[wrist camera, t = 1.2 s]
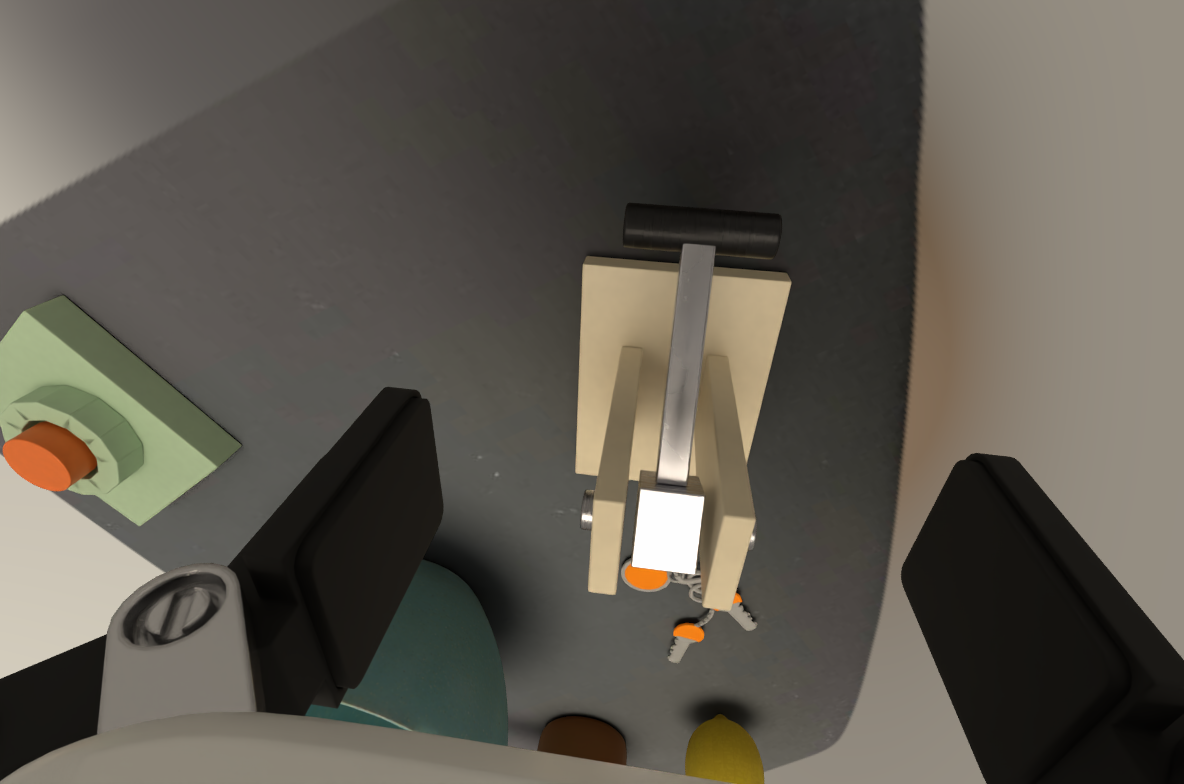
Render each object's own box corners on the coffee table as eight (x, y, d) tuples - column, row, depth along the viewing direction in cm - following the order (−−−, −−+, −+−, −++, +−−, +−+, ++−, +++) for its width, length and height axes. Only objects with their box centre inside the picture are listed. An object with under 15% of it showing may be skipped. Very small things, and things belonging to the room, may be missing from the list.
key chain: (604, 537, 34) (603, 547, 34) (721, 517, 32) (722, 527, 31) (664, 659, 40) (664, 670, 39) (766, 649, 38) (768, 660, 37)
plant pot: (460, 696, 47) (399, 879, 36) (264, 588, 42) (131, 763, 32) (595, 604, 38) (565, 810, 28) (367, 456, 34) (230, 637, 23)
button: (24, 438, 31) (-8, 457, 30) (49, 410, 30) (16, 429, 28) (82, 480, 33) (54, 500, 31) (109, 455, 31) (81, 475, 30)
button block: (-3, 378, 34) (-77, 414, 31) (63, 294, 30) (-14, 325, 27) (165, 504, 38) (116, 547, 35) (242, 445, 34) (195, 487, 31)
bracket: (586, 255, 25) (527, 389, 15) (787, 272, 24) (864, 424, 14) (578, 460, 31) (533, 648, 22) (737, 478, 31) (766, 683, 21)
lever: (628, 210, 20) (625, 194, 17) (771, 221, 19) (789, 206, 17) (595, 535, 21) (589, 562, 19) (727, 552, 21) (738, 582, 18)
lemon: (711, 740, 45) (717, 860, 39) (670, 706, 43) (669, 827, 37) (770, 723, 43) (788, 848, 36) (729, 687, 41) (740, 812, 34)
